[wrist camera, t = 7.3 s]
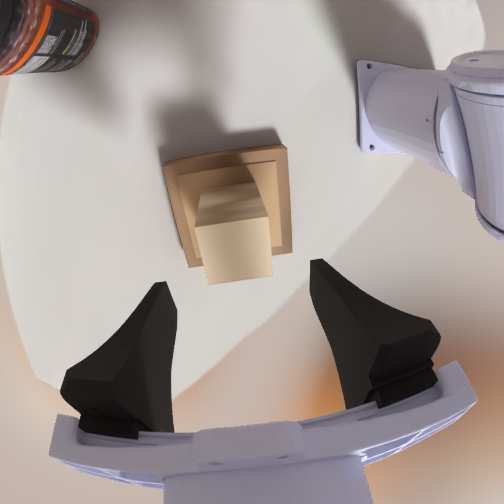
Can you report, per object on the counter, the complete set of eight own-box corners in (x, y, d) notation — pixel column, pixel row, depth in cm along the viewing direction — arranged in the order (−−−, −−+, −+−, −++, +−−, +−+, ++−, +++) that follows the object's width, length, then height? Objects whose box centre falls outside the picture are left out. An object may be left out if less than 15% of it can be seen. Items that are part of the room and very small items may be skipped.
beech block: (255, 181, 20) (268, 216, 15) (260, 229, 22) (273, 275, 17) (201, 189, 19) (194, 227, 14) (210, 236, 22) (208, 284, 17)
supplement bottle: (51, 16, 10) (-37, 0, 1) (109, 3, 11) (30, -41, 2) (38, 77, 13) (-59, 92, 4) (93, 69, 14) (-5, 67, 5)
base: (282, 144, 20) (287, 148, 18) (288, 243, 25) (292, 253, 23) (166, 161, 19) (162, 167, 18) (190, 258, 24) (188, 268, 23)
